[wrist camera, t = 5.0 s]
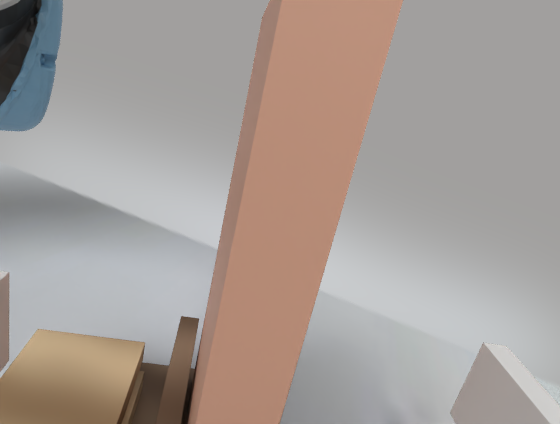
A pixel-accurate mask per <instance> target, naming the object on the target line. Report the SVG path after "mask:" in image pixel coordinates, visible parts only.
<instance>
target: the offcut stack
mask: <svg viewBox="0 0 560 424" xmlns="http://www.w3.org/2000/svg"><path fill="white" fill-rule="evenodd" d="M144 347H145V343H144V342H136V341H128V340H121V339H113V338H105V337H97V336H89V335H82V334H74V333H66V332H58V331H50V330H43V329H38V330H37V331H36V332H35V334H34V335H33V336H32V338H31V339H30V340H29V342H28V343H27V344H26V345H25V347H24V348H23V349H22V351H21V352H20V353H19V355H18V356H17V357H16V359H15V360H14V361H13V363H12V364H11V365H10V367H9V368H8V369H7V371H6V372H5V373H4V374H3V376H2V377H1V378H0V424H131V423H132V419H133V416H134V413H135V410H136V407H137V403H138V400H139V397H140V394H141V390H142V386H143V378H144V371H139V370H140V367H141V364H142V361H143V354H144Z"/></svg>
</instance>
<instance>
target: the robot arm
mask: <svg viewBox="0 0 560 424" xmlns="http://www.w3.org/2000/svg"><path fill="white" fill-rule="evenodd" d="M62 11H63V0H0V130H5V131H25V130H29V129H32V128H34V127H35V126H36V125H38V124H39V123H40V121H41V120H42V119H43V117H44V115H45V112H46V110H47V106H48V103H49V100H50V95H51V91H52V87H53V82H54V75H55V66H56V65H55V60H56V59H57V53H58V49H59V44H60V36H61V26H62ZM8 361H9V272H5V271H0V371H1V370H2V369H3V368H4V366H5V365H6V364H7V362H8ZM450 414H451V416H452V417H453V419H454V421H455V423H456V424H560V405H559V404H558V403H557V402H556V401H555V400H554V399H553V398H552V396H551V395H550V394H549V393H548V392H547V391H546V390H545V389H544V388H543V386H542V385H541V384H540V383H539V382H538V381H537V380H536V379H535V377H534V376H533V375H532V374H531V373H530V372H529V371H528V370H527V369H526V368H525V366H524V365H523V364H522V363H521V362H520V361H519V360H518V359H517V357H516V356H515V355H514V354H513V353H512V352H511V351H510V350H509V348H508V347H507V346H503V345H496V344H490V343H483V344H482V346H481V348H480V351H479V353H478V355H477V357H476V359H475V361H474V363H473V365H472V367H471V370H470V372H469V374H468V376H467V378H466V380H465V382H464V384H463V387H462V389H461V391H460V393H459V395H458V397H457V399H456V401H455V404H454V406H453V408H452V410H451V412H450Z"/></svg>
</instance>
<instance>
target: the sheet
mask: <svg viewBox="0 0 560 424" xmlns="http://www.w3.org/2000/svg"><path fill="white" fill-rule="evenodd" d="M402 2H403V0H270V1H269V3H268V6H267V8H266V10H265V13H264V15H263V17H262V22H261V27H260V32H259V37H258V43H257V48H256V53H255V58H254V63H253V69H252V74H251V79H250V84H249V90H248V95H247V100H246V105H245V110H244V116H243V121H242V126H241V131H240V137H239V142H238V147H237V152H236V158H235V163H234V168H233V174H232V178H231V184H230V189H229V194H228V200H227V205H226V210H225V215H224V220H223V225H222V231H221V236H220V241H219V246H218V252H217V257H216V262H215V267H214V273H213V278H212V283H211V288H210V293H209V299H208V304H207V309H206V314H205V320H204V325H203V330H202V335H201V341H200V346H199V351H198V356H197V361H196V367H195V372H194V377H193V383H192V389H191V395H190V401H189V408H188V414H187V420H186V424H279V423H280V420H281V417H282V413H283V410H284V406H285V403H286V400H287V396H288V393H289V389H290V386H291V382H292V379H293V376H294V372H295V369H296V365H297V362H298V358H299V355H300V352H301V348H302V345H303V341H304V338H305V334H306V331H307V328H308V324H309V321H310V317H311V314H312V310H313V307H314V304H315V300H316V297H317V293H318V290H319V286H320V283H321V279H322V276H323V273H324V269H325V266H326V262H327V259H328V256H329V252H330V249H331V245H332V242H333V238H334V235H335V231H336V228H337V225H338V221H339V218H340V214H341V211H342V208H343V204H344V201H345V197H346V194H347V191H348V187H349V184H350V180H351V177H352V173H353V170H354V166H355V163H356V160H357V156H358V153H359V150H360V146H361V143H362V139H363V136H364V132H365V129H366V125H367V122H368V119H369V115H370V112H371V108H372V105H373V102H374V98H375V95H376V91H377V88H378V84H379V81H380V78H381V74H382V71H383V67H384V64H385V60H386V57H387V54H388V50H389V47H390V43H391V40H392V36H393V33H394V30H395V26H396V23H397V19H398V16H399V13H400V9H401V6H402Z"/></svg>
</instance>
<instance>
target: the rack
mask: <svg viewBox="0 0 560 424" xmlns="http://www.w3.org/2000/svg"><path fill="white" fill-rule="evenodd" d="M198 322H199V319H197V318H190V317H183V316H181V320H180V324H179V328H178V332H177V336H176V340H175V344H174V348H173V352H172V357H171V361H170V365H169V366H166V365H158V364H150V363H142V364H141V367H140V370H139V371H144V378H143V386H142V390H141V394H140V397H139V400H138V403H137V407H136V410H135V413H134V416H133V419H132V423H131V424H186V420H187V414H188V408H189V401H190V395H191V389H192V383H193V377H194V372H195V369H191V362H192V356H193V351H194V345H195V339H196V333H197V328H198Z"/></svg>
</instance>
